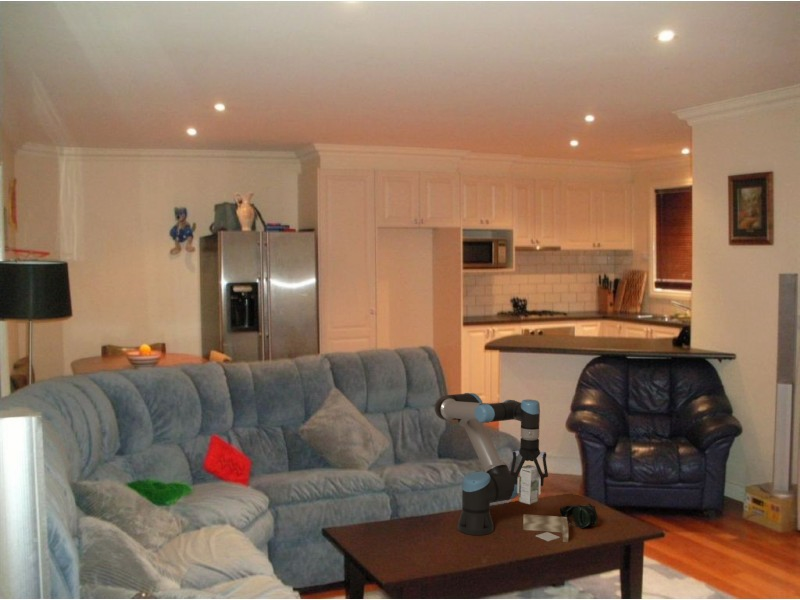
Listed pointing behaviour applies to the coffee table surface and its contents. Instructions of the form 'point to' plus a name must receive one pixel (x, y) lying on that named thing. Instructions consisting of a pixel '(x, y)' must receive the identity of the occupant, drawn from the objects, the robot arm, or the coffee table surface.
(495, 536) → the coffee table surface
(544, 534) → the pad
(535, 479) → the syrup box
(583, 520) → the headphones
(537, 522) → the beige l-shaped wall
